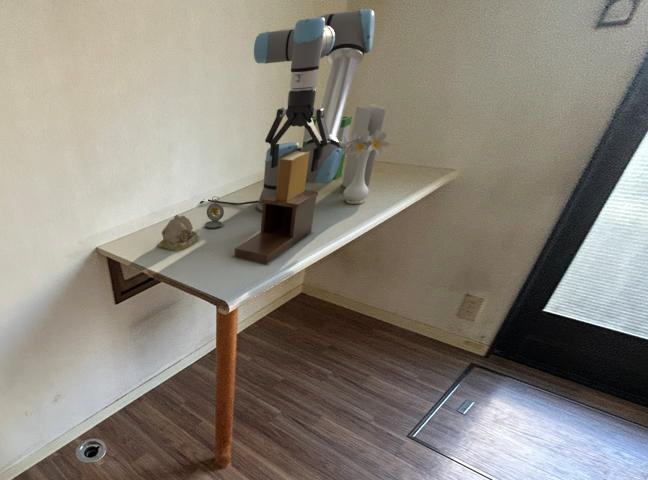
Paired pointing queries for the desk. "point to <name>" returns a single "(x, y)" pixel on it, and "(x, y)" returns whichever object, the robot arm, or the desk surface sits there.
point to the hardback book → (342, 131)
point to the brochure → (363, 122)
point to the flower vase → (361, 162)
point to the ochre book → (292, 175)
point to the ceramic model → (178, 234)
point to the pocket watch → (214, 210)
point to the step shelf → (279, 227)
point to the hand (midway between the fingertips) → (293, 168)
